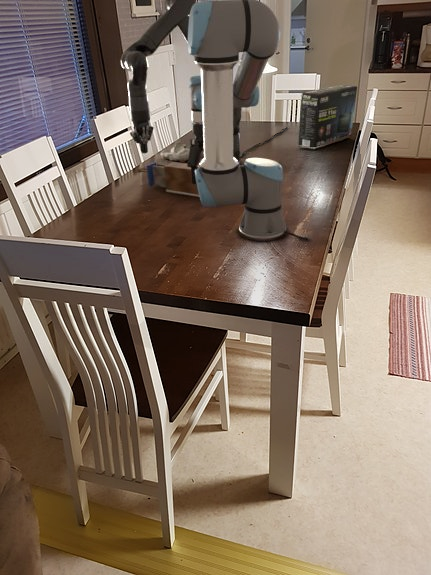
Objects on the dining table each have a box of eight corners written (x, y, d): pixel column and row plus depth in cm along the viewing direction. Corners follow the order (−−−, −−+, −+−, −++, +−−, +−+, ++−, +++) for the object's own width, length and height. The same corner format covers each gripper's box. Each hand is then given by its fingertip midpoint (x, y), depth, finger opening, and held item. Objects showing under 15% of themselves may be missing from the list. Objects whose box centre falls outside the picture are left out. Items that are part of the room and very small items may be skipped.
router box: (314, 151, 231) (318, 94, 217) (296, 148, 237) (299, 92, 224) (352, 138, 251) (358, 85, 238) (335, 135, 258) (340, 83, 245)
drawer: (137, 184, 194) (135, 163, 189) (145, 180, 198) (142, 160, 193) (188, 192, 183) (187, 170, 178) (195, 188, 187) (194, 167, 182)
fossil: (184, 156, 217) (163, 136, 220) (174, 174, 223) (154, 154, 227) (205, 153, 231) (186, 134, 234) (195, 171, 237) (176, 152, 240)
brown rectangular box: (166, 191, 187) (163, 166, 182) (174, 186, 192) (172, 161, 187) (210, 198, 178) (209, 171, 173) (218, 193, 183) (217, 167, 178)
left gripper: (142, 104, 185) (146, 148, 194) (121, 110, 175) (127, 156, 184) (157, 105, 182) (161, 149, 191) (136, 111, 172) (142, 158, 181)
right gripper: (210, 115, 179) (212, 169, 190) (174, 128, 161) (179, 187, 172) (226, 116, 176) (228, 171, 187) (192, 130, 157) (196, 189, 168)
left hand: (144, 152), depth 188 cm, fingers closed
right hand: (204, 178), depth 179 cm, fingers open, 13 cm apart
